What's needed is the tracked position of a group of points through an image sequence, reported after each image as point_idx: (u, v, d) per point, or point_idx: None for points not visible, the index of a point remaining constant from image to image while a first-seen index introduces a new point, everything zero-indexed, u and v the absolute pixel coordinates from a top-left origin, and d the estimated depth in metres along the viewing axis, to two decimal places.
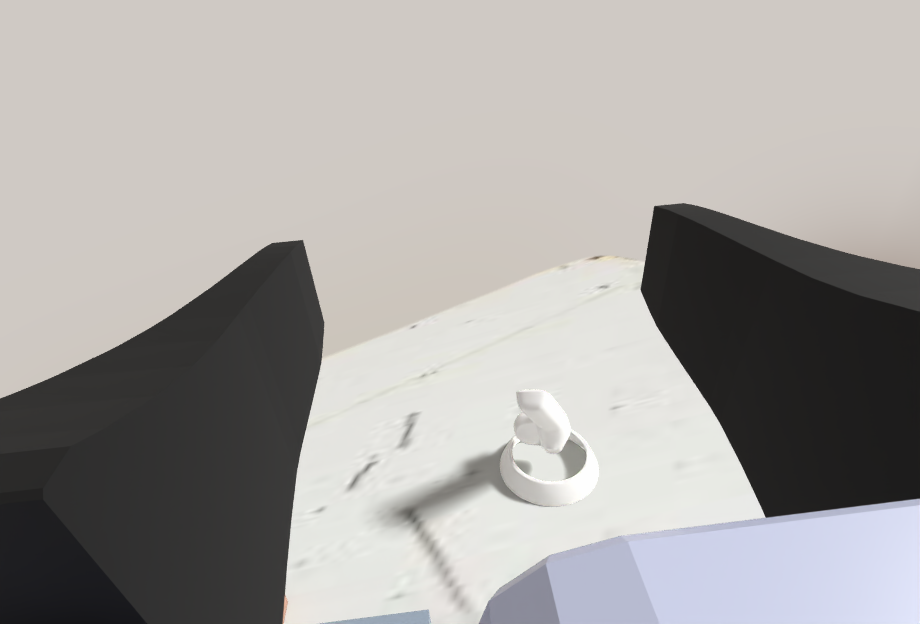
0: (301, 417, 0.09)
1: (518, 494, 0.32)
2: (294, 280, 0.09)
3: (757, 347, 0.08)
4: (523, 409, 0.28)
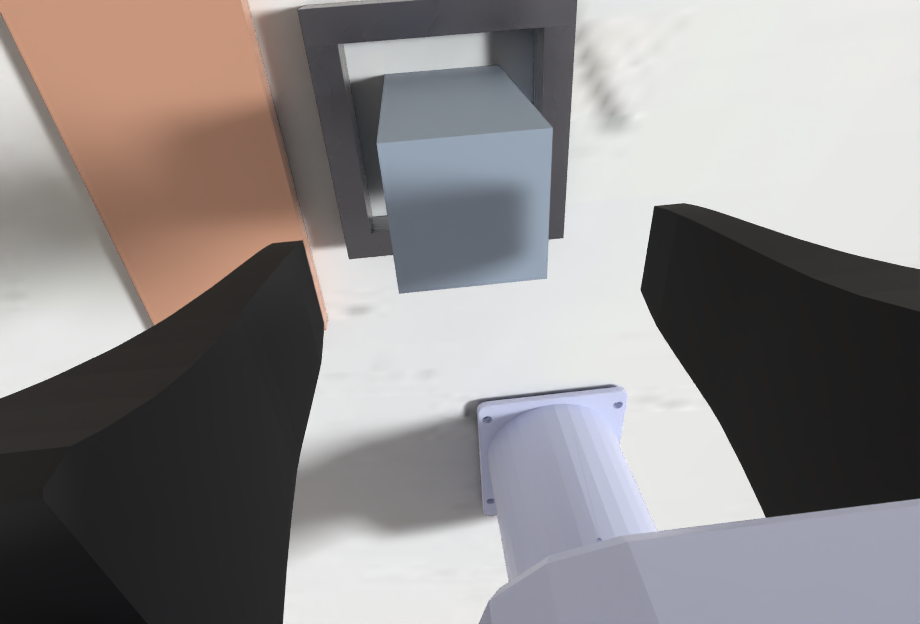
0: (301, 417, 0.09)
1: None
2: (294, 280, 0.09)
3: (757, 347, 0.08)
4: None
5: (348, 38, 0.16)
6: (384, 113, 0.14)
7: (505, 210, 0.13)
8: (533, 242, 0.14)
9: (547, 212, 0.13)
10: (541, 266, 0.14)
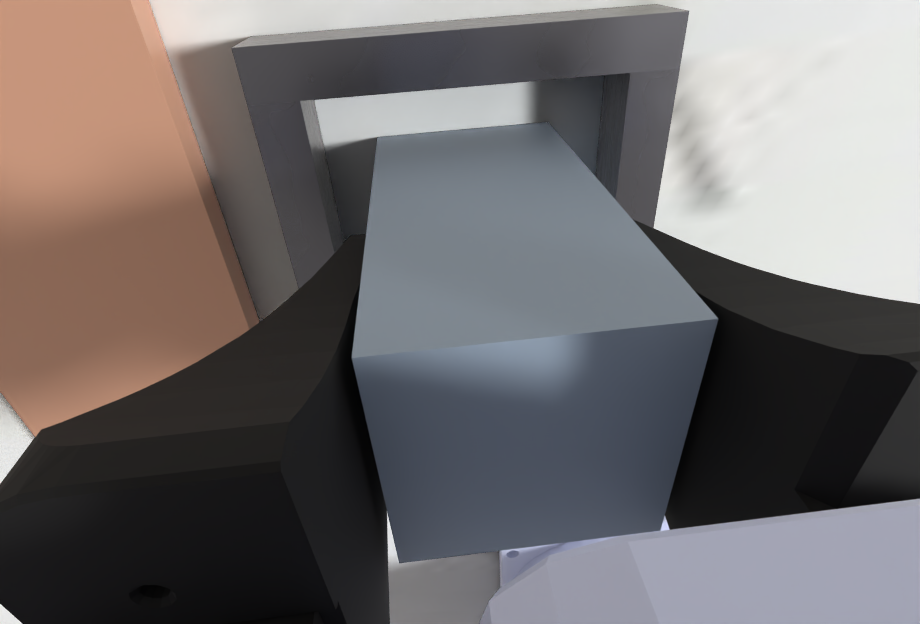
0: None
1: None
2: None
3: None
4: None
5: (317, 92, 0.10)
6: (372, 243, 0.08)
7: (602, 448, 0.07)
8: (646, 487, 0.07)
9: (679, 445, 0.07)
10: (654, 516, 0.08)
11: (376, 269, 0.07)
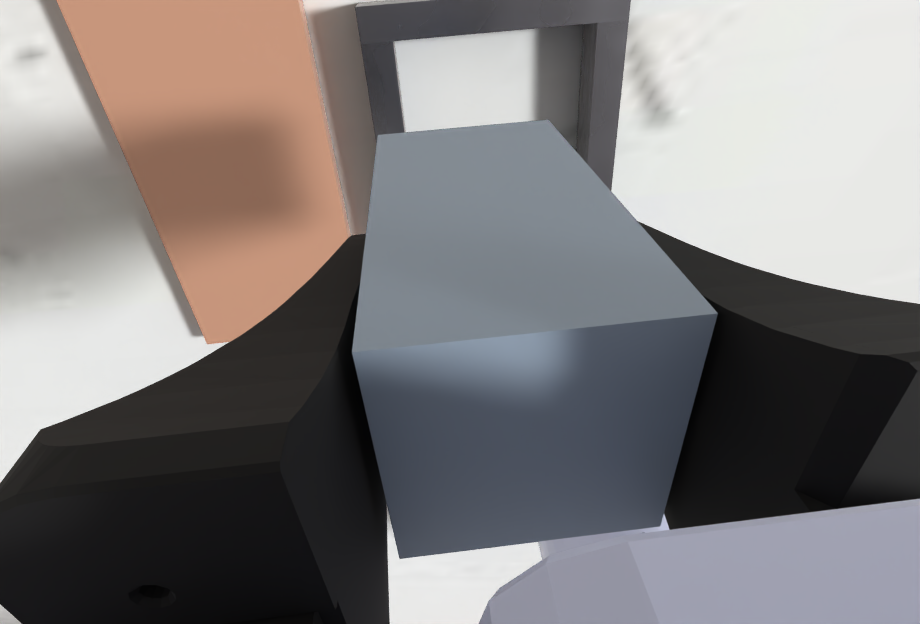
0: None
1: None
2: None
3: None
4: None
5: (403, 35, 0.16)
6: (373, 240, 0.08)
7: (601, 443, 0.07)
8: (645, 482, 0.07)
9: (679, 440, 0.07)
10: (653, 512, 0.08)
11: (376, 265, 0.07)
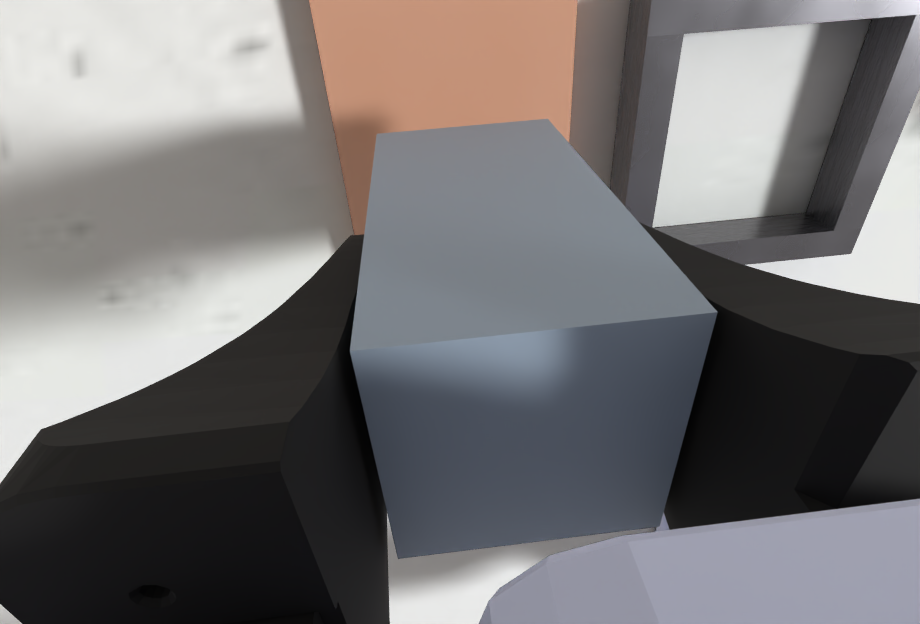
0: None
1: None
2: None
3: None
4: None
5: (697, 27, 0.14)
6: (371, 238, 0.08)
7: (601, 443, 0.07)
8: (645, 482, 0.07)
9: (678, 440, 0.07)
10: (653, 512, 0.08)
11: (374, 264, 0.07)
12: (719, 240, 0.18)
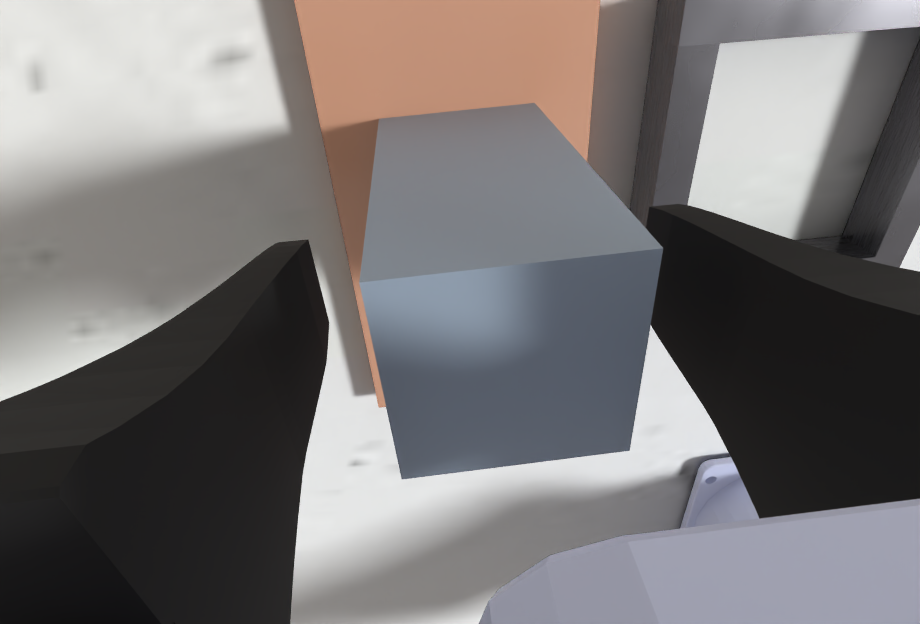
0: (307, 416, 0.09)
1: None
2: (300, 279, 0.09)
3: (750, 348, 0.08)
4: None
5: (735, 35, 0.12)
6: (375, 201, 0.09)
7: (572, 368, 0.08)
8: (613, 407, 0.09)
9: (639, 366, 0.08)
10: (622, 436, 0.09)
11: (378, 220, 0.08)
12: None
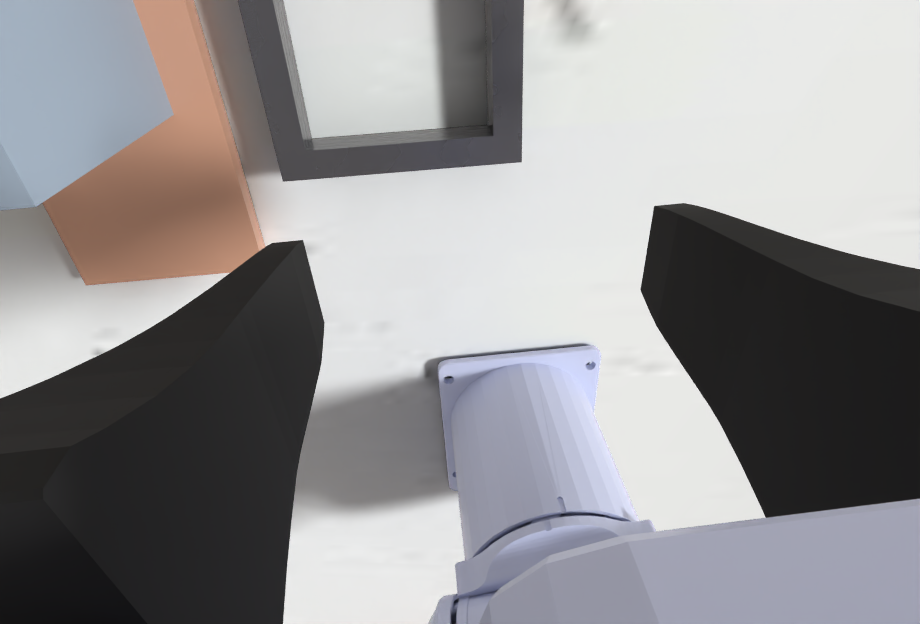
0: (301, 417, 0.09)
1: None
2: (294, 280, 0.09)
3: (757, 347, 0.08)
4: None
5: None
6: None
7: None
8: None
9: None
10: (18, 189, 0.11)
11: None
12: (380, 144, 0.18)
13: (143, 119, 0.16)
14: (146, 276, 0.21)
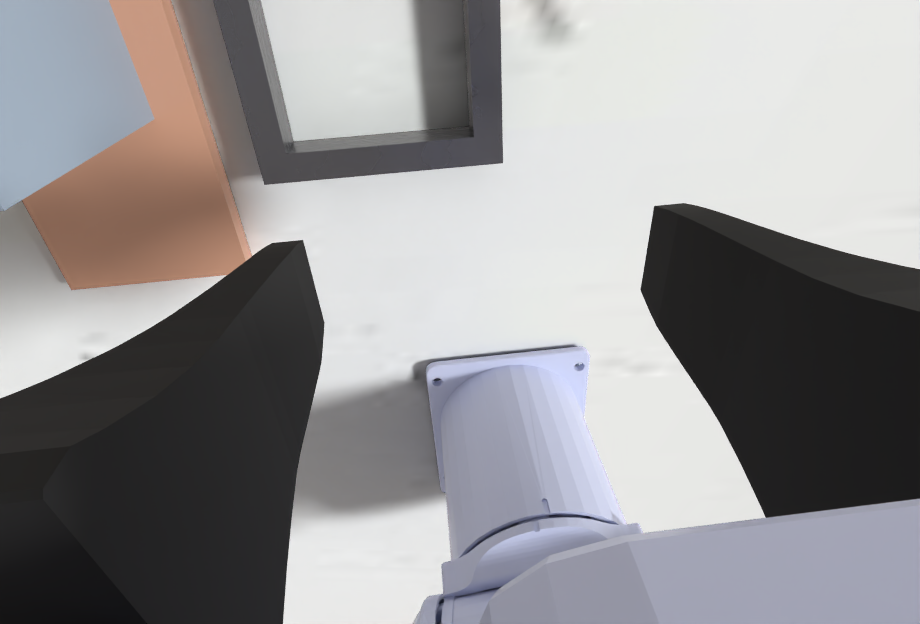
0: (301, 417, 0.09)
1: None
2: (294, 280, 0.09)
3: (757, 347, 0.08)
4: None
5: None
6: None
7: None
8: None
9: None
10: None
11: None
12: (360, 146, 0.18)
13: (121, 123, 0.16)
14: (131, 280, 0.21)
